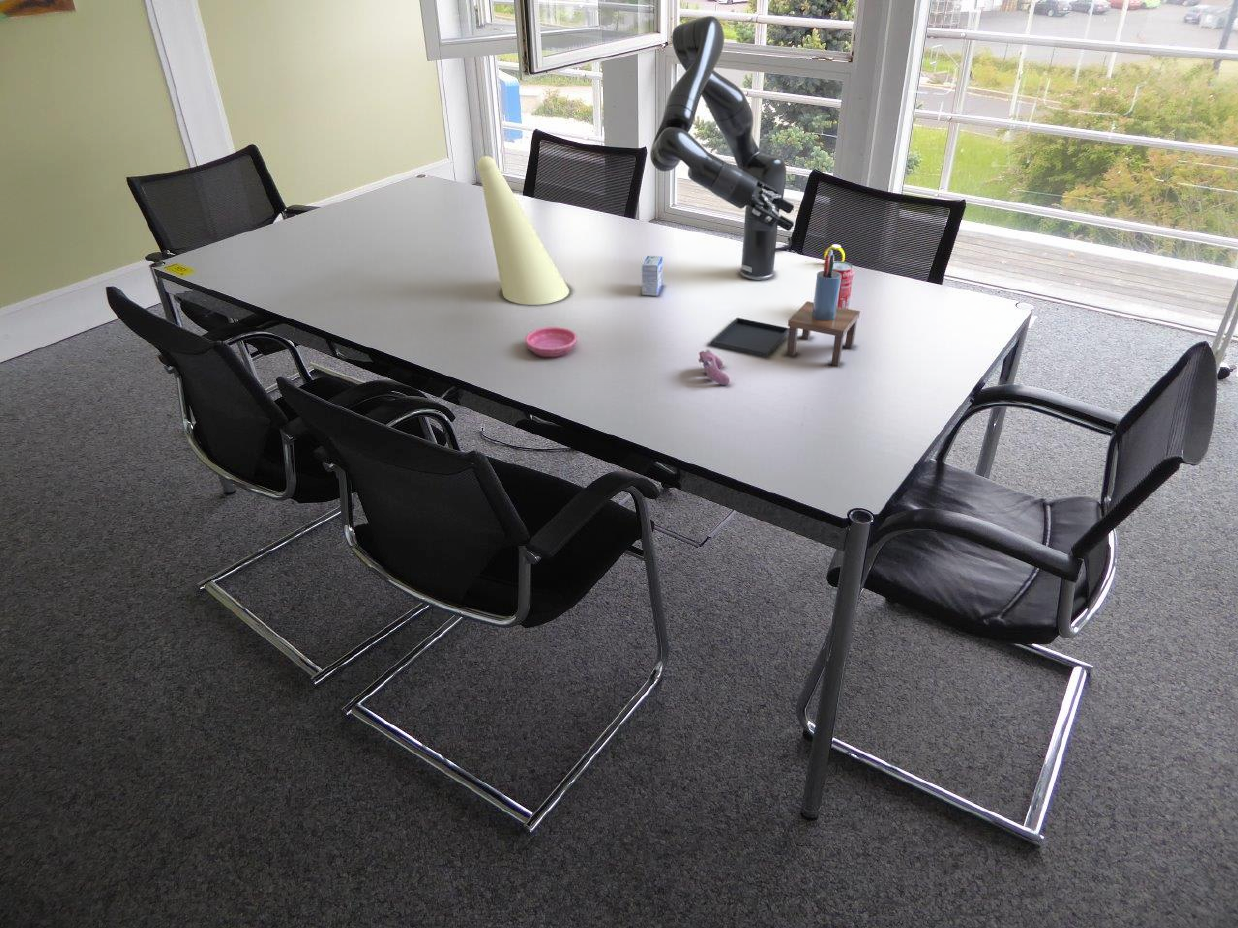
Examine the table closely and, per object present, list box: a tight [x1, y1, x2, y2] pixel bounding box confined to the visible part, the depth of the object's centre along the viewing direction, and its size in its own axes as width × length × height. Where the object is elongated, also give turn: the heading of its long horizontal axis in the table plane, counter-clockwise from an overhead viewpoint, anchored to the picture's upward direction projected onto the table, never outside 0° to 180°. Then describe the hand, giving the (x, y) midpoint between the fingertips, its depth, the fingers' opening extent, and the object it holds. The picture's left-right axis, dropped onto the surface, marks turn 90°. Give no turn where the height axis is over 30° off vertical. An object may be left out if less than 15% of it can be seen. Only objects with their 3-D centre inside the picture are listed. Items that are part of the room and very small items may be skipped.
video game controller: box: [698, 348, 731, 386], centre depth 195 cm, size 10×5×7 cm, turn 5°
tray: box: [710, 317, 789, 358], centre depth 213 cm, size 16×14×1 cm
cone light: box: [477, 155, 570, 306], centre depth 232 cm, size 25×18×35 cm
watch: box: [823, 243, 846, 262], centre depth 254 cm, size 6×3×6 cm, turn 53°
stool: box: [786, 300, 861, 367], centre depth 205 cm, size 13×13×9 cm
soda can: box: [833, 260, 854, 309], centre depth 222 cm, size 7×7×13 cm
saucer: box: [524, 326, 578, 358], centre depth 208 cm, size 12×12×3 cm
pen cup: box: [812, 249, 841, 320], centre depth 198 cm, size 5×5×16 cm
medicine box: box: [641, 255, 663, 297], centre depth 238 cm, size 8×4×9 cm, turn 168°
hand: (791, 218), depth 202 cm, fingers open, 8 cm apart
